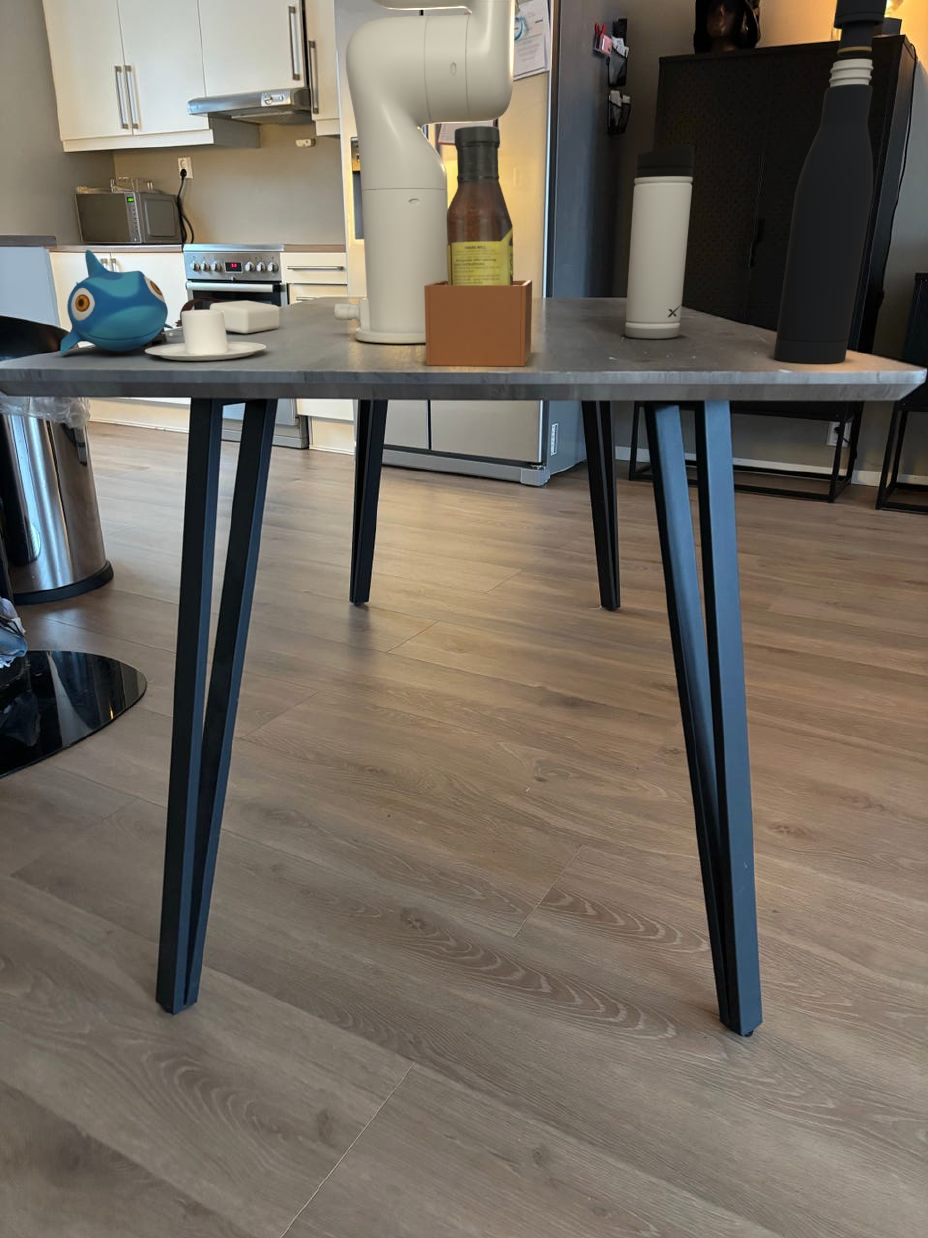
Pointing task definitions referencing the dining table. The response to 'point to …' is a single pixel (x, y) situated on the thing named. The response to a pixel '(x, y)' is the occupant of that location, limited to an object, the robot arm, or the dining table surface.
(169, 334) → the witch figurine
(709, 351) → the dining table surface
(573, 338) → the dining table surface
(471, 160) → the sauce bottle
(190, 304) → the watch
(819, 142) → the black water bottle
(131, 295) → the toy
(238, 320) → the soap
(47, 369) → the dining table surface
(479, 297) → the box
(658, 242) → the travel mug
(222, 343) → the candle holder
